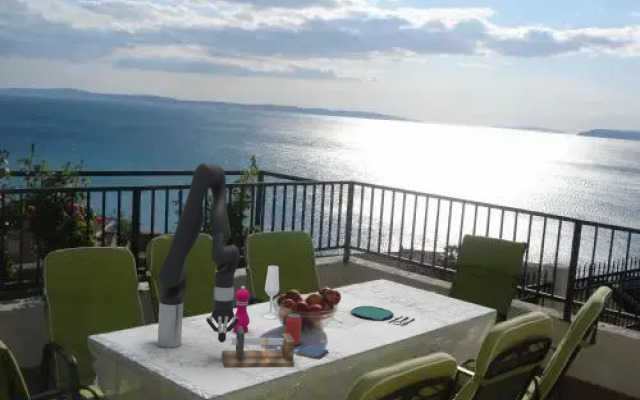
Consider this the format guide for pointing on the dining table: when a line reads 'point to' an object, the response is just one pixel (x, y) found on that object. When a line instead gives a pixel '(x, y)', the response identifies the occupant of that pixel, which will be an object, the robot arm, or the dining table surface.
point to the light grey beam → (260, 341)
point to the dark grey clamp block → (240, 341)
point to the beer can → (294, 327)
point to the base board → (262, 356)
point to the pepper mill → (242, 309)
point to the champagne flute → (272, 287)
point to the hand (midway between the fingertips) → (221, 341)
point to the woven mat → (312, 352)
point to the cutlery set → (377, 314)
